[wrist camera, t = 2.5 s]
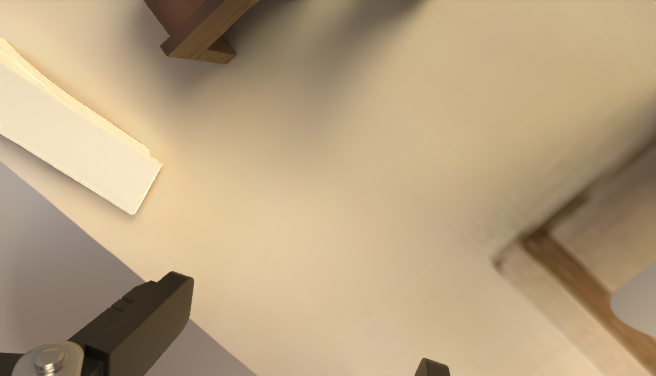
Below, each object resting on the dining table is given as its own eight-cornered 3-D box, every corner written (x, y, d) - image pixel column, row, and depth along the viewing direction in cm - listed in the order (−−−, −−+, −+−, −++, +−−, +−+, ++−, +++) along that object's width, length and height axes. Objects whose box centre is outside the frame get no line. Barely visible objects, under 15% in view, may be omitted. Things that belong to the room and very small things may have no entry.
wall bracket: (186, 151, 49) (-3, 25, 45) (166, 155, 42) (-60, 5, 38) (148, 208, 50) (-41, 90, 46) (122, 221, 43) (-104, 82, 39)
